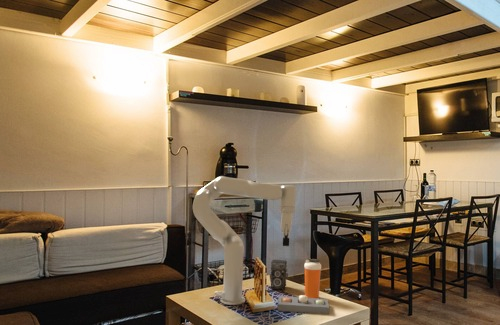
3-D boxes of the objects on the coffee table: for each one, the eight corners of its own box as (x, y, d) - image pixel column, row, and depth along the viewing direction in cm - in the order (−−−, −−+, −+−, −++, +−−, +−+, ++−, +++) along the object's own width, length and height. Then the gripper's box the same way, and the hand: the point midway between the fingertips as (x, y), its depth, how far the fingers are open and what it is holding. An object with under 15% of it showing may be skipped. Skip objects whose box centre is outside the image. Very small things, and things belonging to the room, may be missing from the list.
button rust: (282, 306, 197) (282, 299, 197) (282, 303, 201) (282, 297, 201) (290, 307, 197) (290, 300, 197) (290, 304, 201) (290, 297, 201)
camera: (267, 290, 223) (268, 263, 223) (270, 285, 234) (270, 258, 233) (286, 292, 221) (287, 264, 221) (288, 286, 232) (289, 260, 232)
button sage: (315, 308, 196) (315, 302, 196) (315, 305, 200) (315, 299, 200) (324, 309, 195) (324, 302, 195) (323, 306, 199) (323, 299, 199)
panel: (277, 310, 194) (277, 304, 194) (278, 301, 205) (278, 296, 205) (329, 314, 191) (329, 307, 191) (327, 305, 203) (327, 299, 203)
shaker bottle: (320, 301, 208) (321, 262, 208) (302, 299, 210) (303, 260, 210) (320, 295, 217) (321, 258, 217) (303, 294, 219) (305, 256, 219)
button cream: (299, 304, 196) (299, 297, 196) (298, 301, 200) (299, 294, 200) (307, 304, 196) (307, 298, 196) (307, 301, 200) (307, 295, 200)
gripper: (280, 207, 215) (279, 242, 215) (279, 210, 200) (277, 248, 200) (295, 208, 214) (293, 243, 214) (294, 211, 200) (293, 249, 200)
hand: (285, 245), depth 207 cm, fingers closed
